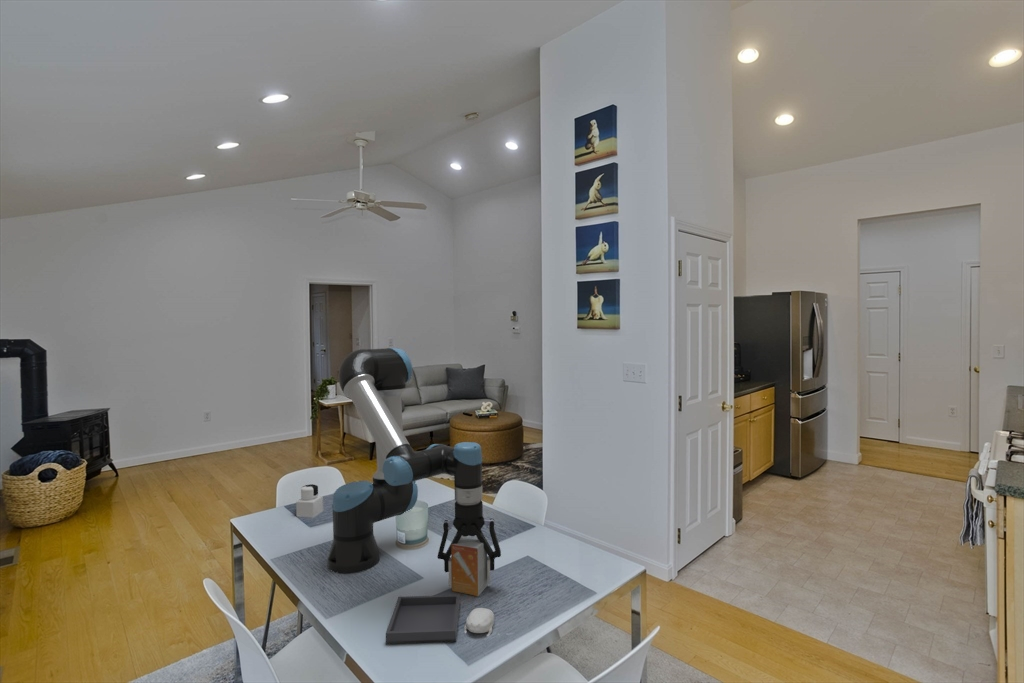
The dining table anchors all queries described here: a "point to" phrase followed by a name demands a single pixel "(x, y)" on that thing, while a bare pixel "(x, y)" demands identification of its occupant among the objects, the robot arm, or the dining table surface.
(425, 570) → the dining table surface
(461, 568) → the small box
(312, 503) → the medicine bottle
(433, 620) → the holder
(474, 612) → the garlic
